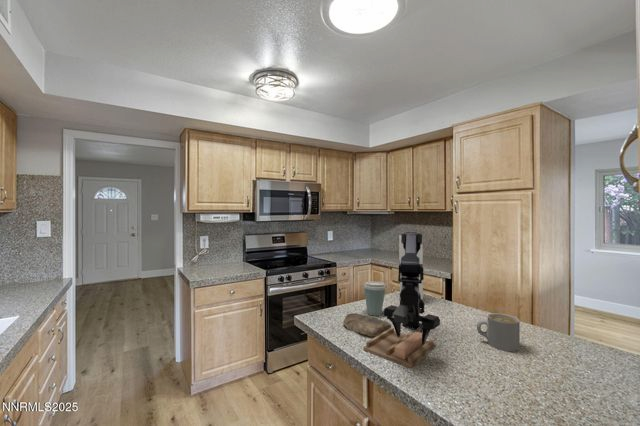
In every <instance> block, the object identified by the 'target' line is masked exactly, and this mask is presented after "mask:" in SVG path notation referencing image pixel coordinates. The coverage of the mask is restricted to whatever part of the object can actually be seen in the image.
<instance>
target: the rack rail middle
mask: <svg viewBox="0 0 640 426" xmlns="http://www.w3.org/2000/svg"><path fill="white" fill-rule="evenodd" d="M412 334H414V332H413V333H412V332H410V333H408V334H406V335H407V336H405V337H404V338H402V339H401V340H399V341H398V342H396V343H395V344H393V345H392V346H390V347H389V348H388V349H386V354H387V355H390V354H391V353H392V352H394V351H395V346H396V345H398V344H399V343H401V342H402V341H404V340H405V339H407V338H408V337H409V336H411V335H412Z"/></svg>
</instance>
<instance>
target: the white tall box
mask: <svg viewBox="0 0 640 426" xmlns="http://www.w3.org/2000/svg"><path fill="white" fill-rule="evenodd" d="M398 239H399V241H398V243H399V246H398V250H399V254H398V255H399V257H398V258H399V262H398V263H401V258H402V257H403V256H404V255H405V250H404V248H403V244H402V243H401V235H399V236H398ZM423 241H424V240H423V236H422V244H421V248H420V250H419V251H418V253H417V257H418V258H419V264H422V267H423V266H424V265H423V261H424V257H423V255H424V254H423V253H424V249H423V247H424V246H423V244H424V243H423ZM423 268H424V267H423ZM401 277H402V276H400V279H401ZM418 278H419V280H420V277H418ZM423 283H424V280H422V283H419V292H420V294H421V299H423V300H424V284H423ZM401 289H402V282H399V294H400V293H401ZM400 300H401V298H400V297H399V301H400Z"/></svg>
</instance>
